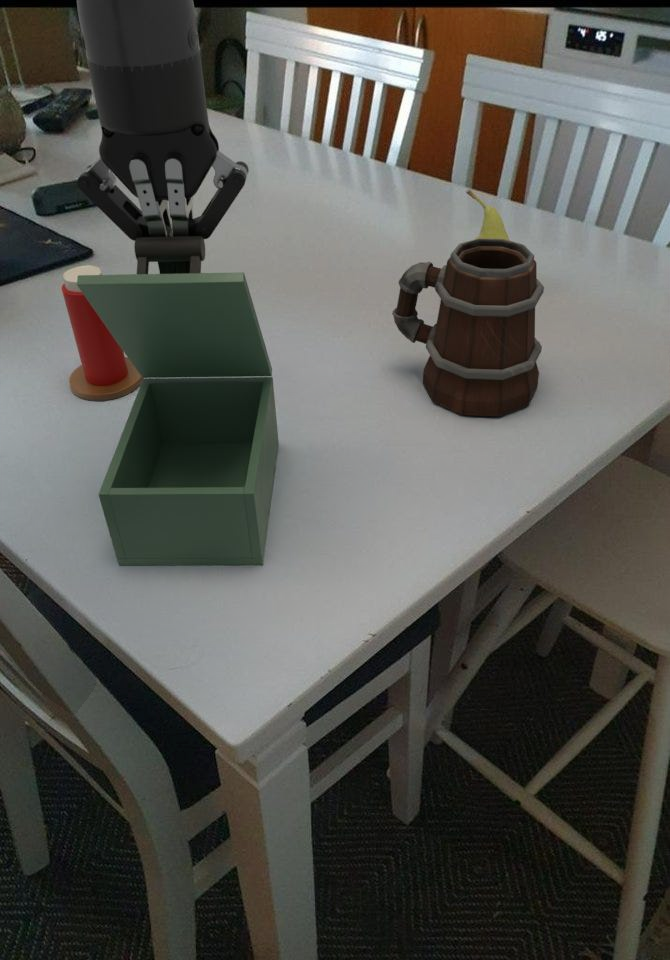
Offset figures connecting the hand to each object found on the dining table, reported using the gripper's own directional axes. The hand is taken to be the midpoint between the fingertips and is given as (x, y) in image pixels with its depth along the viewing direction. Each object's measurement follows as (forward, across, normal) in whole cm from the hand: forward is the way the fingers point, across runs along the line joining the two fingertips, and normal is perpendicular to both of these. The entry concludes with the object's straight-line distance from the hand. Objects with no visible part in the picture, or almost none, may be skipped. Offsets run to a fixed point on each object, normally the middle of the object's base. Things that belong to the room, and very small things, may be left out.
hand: (181, 286), depth 65 cm
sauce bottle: (+18, +14, -16) cm, 28 cm away
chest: (+19, 0, +4) cm, 19 cm away
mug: (+19, -25, -14) cm, 34 cm away
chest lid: (+4, 0, +2) cm, 4 cm away
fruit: (+19, -30, -37) cm, 52 cm away
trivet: (+19, +14, -16) cm, 28 cm away
